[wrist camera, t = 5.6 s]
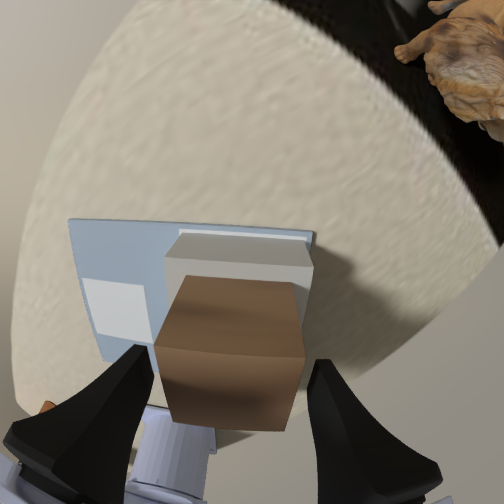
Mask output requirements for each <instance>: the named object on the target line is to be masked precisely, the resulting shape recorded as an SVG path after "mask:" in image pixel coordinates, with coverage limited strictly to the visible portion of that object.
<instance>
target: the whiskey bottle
mask: <svg viewBox="0 0 504 504" xmlns="http://www.w3.org/2000/svg"><path fill="white" fill-rule="evenodd" d="M53 407H55V405H54V404H52V403H51V402H48V401H45V402H44V404H43V406H42V408H41V410H40V412H39V414H40V413H42V412H45V411H47V410H49V409H51V408H53ZM18 465H19V466H20V467H23V465H24V463H22V462H21V461H20V460H19V462H18Z"/></svg>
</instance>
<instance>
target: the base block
mask: <svg viewBox="0 0 504 504" xmlns="http://www.w3.org/2000/svg"><path fill="white" fill-rule="evenodd" d="M164 265H165V277H166V287H167V297H168V306H169V309H170V307H171V305H172V303H173V301H174V299H175V297H176V295H177V292H178V290H179V288H180V286H181V284H182V282H183V280H184V278H185V276H186V275H193V276H206V277H219V278H233V279H247V280H263V281H279V282H292V286H293V291H294V296H295V301H296V306H297V311H298V317H299V322H300V327H301V332H302V327H303V323H304V318H305V313H306V308H307V303H308V298H309V292H310V287H311V282H312V276H313V271H314V266H313V263H312V261H311V258H310V256H309V253H308V251H307V248H306V246H305V243H304V241H303V240H294V239H280V238H266V237H251V236H236V235H220V234H204V233H186V232H182V233H181V235H180V236H179V237H178V239H177V240H176V241H175V243H174V244H173V245H172V247H171V248H170V250H169V251H168V252H167V254H166V255H165V256H164Z"/></svg>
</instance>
